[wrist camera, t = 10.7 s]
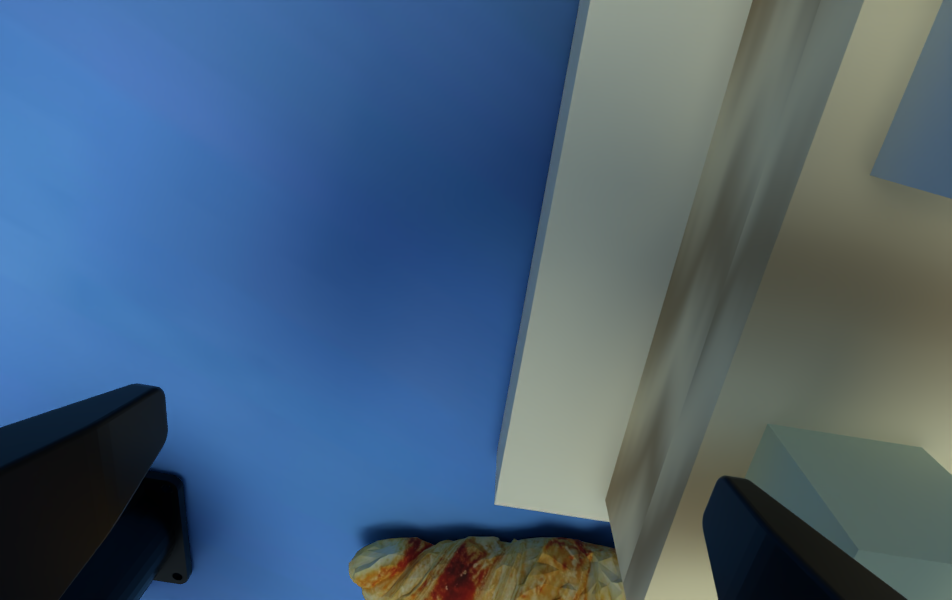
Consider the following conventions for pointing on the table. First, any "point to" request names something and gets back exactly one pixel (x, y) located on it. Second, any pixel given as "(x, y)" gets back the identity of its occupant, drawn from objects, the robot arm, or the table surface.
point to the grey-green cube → (866, 502)
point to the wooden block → (790, 283)
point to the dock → (609, 238)
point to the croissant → (487, 570)
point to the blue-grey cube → (924, 118)
